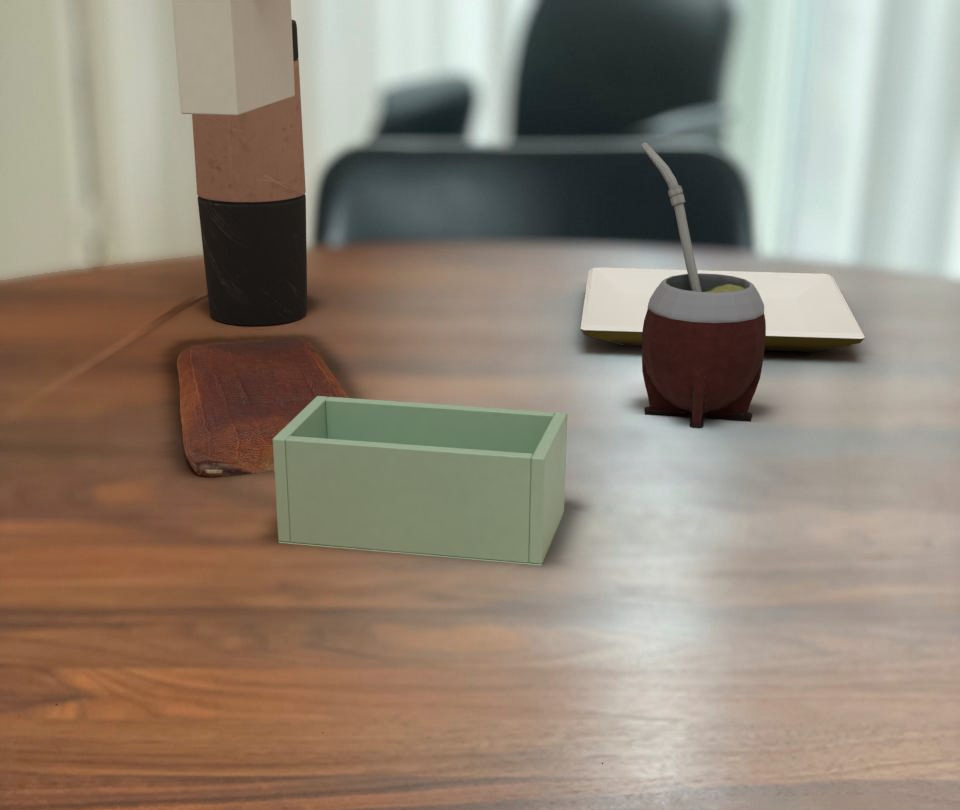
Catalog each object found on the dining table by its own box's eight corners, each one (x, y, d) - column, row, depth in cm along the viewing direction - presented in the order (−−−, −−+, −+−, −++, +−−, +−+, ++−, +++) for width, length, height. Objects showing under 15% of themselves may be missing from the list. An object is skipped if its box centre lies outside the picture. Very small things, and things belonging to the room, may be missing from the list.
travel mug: (211, 329, 106) (188, 25, 97) (201, 304, 113) (180, 17, 104) (318, 323, 108) (305, 24, 99) (303, 299, 114) (290, 16, 106)
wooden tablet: (380, 478, 79) (379, 448, 78) (187, 490, 77) (184, 459, 76) (323, 345, 102) (322, 321, 102) (173, 352, 100) (171, 327, 100)
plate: (587, 293, 117) (588, 266, 116) (830, 300, 116) (833, 273, 115) (579, 356, 100) (580, 326, 99) (862, 365, 99) (866, 335, 98)
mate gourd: (757, 441, 85) (783, 165, 78) (618, 432, 86) (632, 161, 79) (757, 402, 91) (781, 146, 85) (628, 395, 92) (642, 141, 86)
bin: (278, 551, 70) (272, 438, 67) (321, 501, 76) (316, 395, 73) (541, 574, 67) (544, 458, 65) (563, 520, 73) (567, 412, 71)
